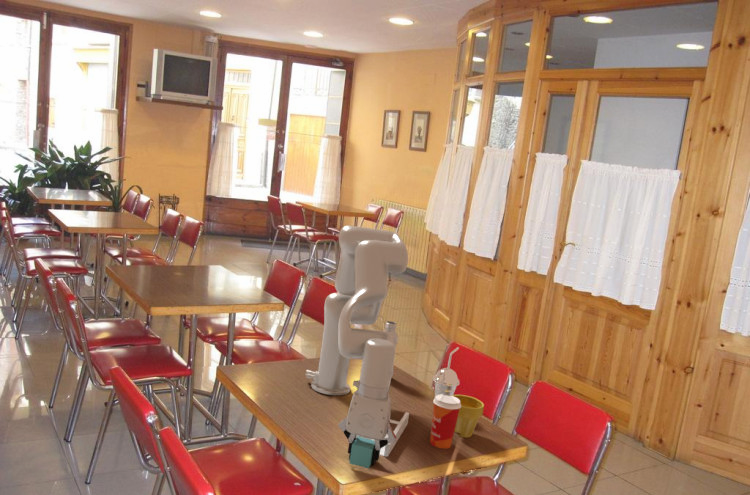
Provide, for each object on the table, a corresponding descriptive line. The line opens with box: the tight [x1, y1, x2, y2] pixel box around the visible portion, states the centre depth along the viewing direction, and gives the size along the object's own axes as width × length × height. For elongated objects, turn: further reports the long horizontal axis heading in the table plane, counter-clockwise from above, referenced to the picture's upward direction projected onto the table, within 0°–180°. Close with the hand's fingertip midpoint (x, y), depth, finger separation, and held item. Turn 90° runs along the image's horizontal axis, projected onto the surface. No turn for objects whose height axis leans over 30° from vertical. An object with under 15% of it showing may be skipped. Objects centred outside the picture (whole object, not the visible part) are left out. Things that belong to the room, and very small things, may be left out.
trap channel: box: [356, 411, 410, 458], centre depth 178 cm, size 10×24×4 cm, turn 165°
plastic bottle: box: [382, 320, 399, 378], centre depth 228 cm, size 6×7×20 cm
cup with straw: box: [432, 346, 460, 398], centre depth 205 cm, size 8×9×20 cm
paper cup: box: [429, 394, 461, 449], centre depth 177 cm, size 8×8×14 cm
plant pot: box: [452, 394, 485, 438], centre depth 190 cm, size 10×10×10 cm
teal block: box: [348, 437, 375, 469], centre depth 161 cm, size 5×5×5 cm
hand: (362, 458), depth 162 cm, fingers closed on teal block, 5 cm apart
